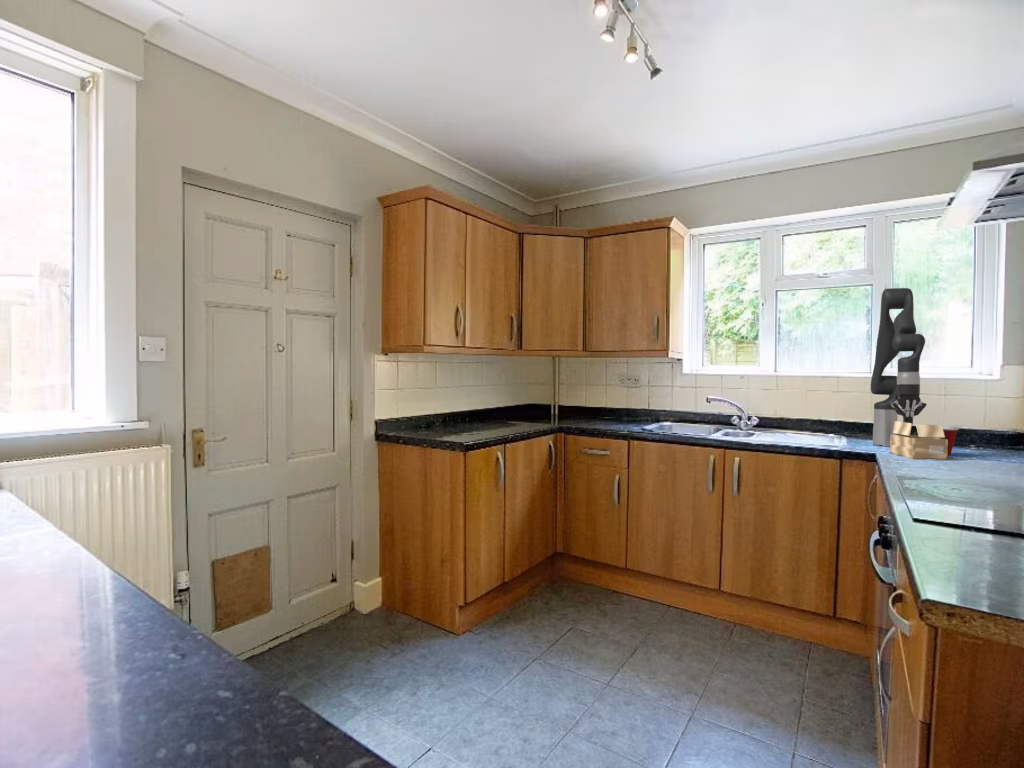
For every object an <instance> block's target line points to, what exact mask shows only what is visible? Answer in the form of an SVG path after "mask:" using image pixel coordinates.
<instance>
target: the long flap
mask: <svg viewBox="0 0 1024 768" xmlns="http://www.w3.org/2000/svg"><path fill="white" fill-rule="evenodd" d="M911 431H912V423H906V422H903V421H898V420H897V421H895V423H894V429H893V433H896V434H897V435H908V436H910V435H911Z"/></svg>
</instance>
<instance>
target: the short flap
mask: <svg viewBox="0 0 1024 768" xmlns="http://www.w3.org/2000/svg"><path fill="white" fill-rule="evenodd" d="M942 425H943V424H915V427H916V431H917V435H918V436H919V437H937V438H945V436H944V432H943V428H942Z"/></svg>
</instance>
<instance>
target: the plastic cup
mask: <svg viewBox="0 0 1024 768" xmlns="http://www.w3.org/2000/svg"><path fill="white" fill-rule="evenodd" d="M941 425H942V428H943V432H944V436H945V438H941V439H947V440H948V452H947V457H948V456H951V455H952V451H953V447H954V443H955V441H956V435H957V433H958V431H959V430H960V427H958V426H952V425H943V424H941ZM935 438H937V437H935Z"/></svg>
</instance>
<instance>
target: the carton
mask: <svg viewBox="0 0 1024 768" xmlns="http://www.w3.org/2000/svg"><path fill="white" fill-rule="evenodd" d="M947 452H948V440H947V439H941V438H935V437H919V436H918V434H910V436H908V435H902V434H897V435H893V434H890V446H889V454H890V453H893V454H892V455H894V454H896V455H895V456H898V455H900V456H899V457H903V456H904V457H903V458H907V459H911V460H925V459H936V460H935V461H948V456H947Z"/></svg>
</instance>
